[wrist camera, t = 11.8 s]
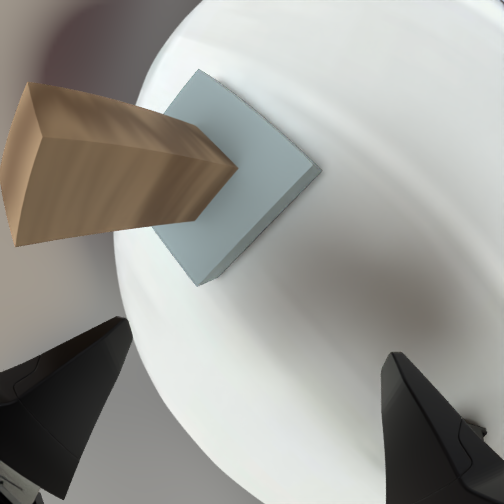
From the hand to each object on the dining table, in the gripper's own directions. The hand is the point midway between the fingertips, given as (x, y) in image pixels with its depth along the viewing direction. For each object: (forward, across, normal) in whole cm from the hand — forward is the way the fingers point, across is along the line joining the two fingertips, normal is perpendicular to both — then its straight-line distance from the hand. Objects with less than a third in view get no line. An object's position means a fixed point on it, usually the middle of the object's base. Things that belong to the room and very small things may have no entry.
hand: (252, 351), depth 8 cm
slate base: (+15, +6, -2) cm, 16 cm away
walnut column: (+12, +6, -3) cm, 14 cm away
